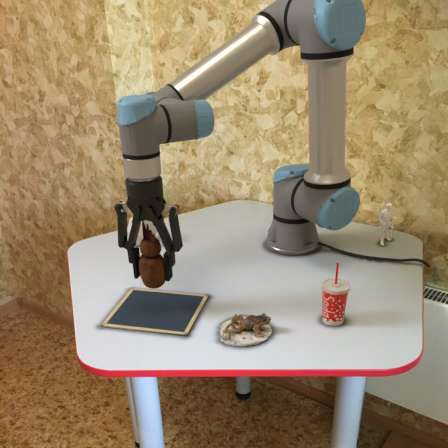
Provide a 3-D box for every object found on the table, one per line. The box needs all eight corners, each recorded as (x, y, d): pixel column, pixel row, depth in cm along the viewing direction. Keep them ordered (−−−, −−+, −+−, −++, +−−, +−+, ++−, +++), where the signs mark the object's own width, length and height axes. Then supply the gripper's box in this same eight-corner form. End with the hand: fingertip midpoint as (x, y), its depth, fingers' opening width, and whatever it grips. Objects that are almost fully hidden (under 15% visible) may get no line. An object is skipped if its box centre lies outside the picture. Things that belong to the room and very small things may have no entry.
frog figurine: (269, 315, 121) (270, 301, 119) (275, 345, 110) (275, 330, 108) (219, 317, 121) (218, 302, 119) (219, 347, 110) (219, 332, 108)
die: (153, 236, 165) (131, 212, 162) (168, 230, 158) (145, 204, 155) (137, 255, 161) (114, 230, 157) (152, 248, 154) (128, 222, 150)
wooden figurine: (137, 281, 123) (130, 219, 115) (161, 276, 124) (156, 215, 117) (145, 294, 117) (138, 230, 110) (170, 288, 119) (165, 225, 112)
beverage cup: (313, 316, 120) (317, 260, 113) (337, 311, 122) (342, 255, 115) (327, 330, 115) (332, 271, 108) (352, 324, 117) (358, 266, 110)
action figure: (381, 246, 153) (386, 206, 147) (372, 242, 155) (376, 202, 149) (397, 241, 156) (402, 201, 150) (387, 237, 158) (392, 198, 152)
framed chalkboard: (208, 296, 130) (208, 294, 129) (186, 336, 114) (186, 334, 114) (131, 289, 134) (131, 287, 134) (101, 326, 119) (100, 325, 118)
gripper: (194, 173, 110) (200, 273, 121) (106, 169, 114) (119, 266, 125) (184, 184, 103) (190, 288, 114) (90, 179, 108) (106, 281, 119)
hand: (153, 277), depth 120 cm, fingers closed on wooden figurine, 7 cm apart
